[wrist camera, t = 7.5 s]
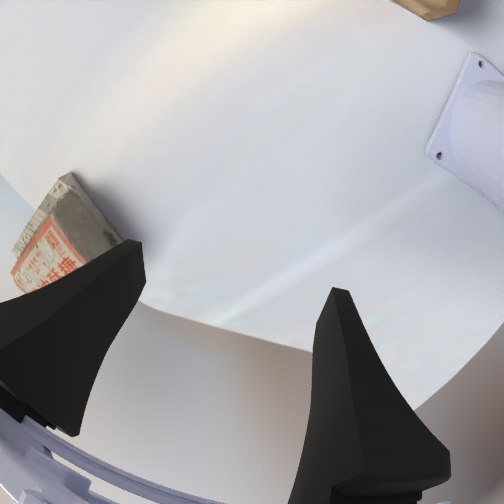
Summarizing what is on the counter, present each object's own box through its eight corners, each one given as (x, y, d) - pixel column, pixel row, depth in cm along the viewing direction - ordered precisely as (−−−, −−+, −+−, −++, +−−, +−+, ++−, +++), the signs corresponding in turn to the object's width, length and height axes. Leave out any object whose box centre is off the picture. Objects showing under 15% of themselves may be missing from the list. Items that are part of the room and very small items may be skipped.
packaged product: (34, 190, 17) (112, 287, 21) (72, 165, 21) (139, 252, 25) (-5, 266, 25) (45, 324, 29) (18, 243, 29) (64, 299, 33)
